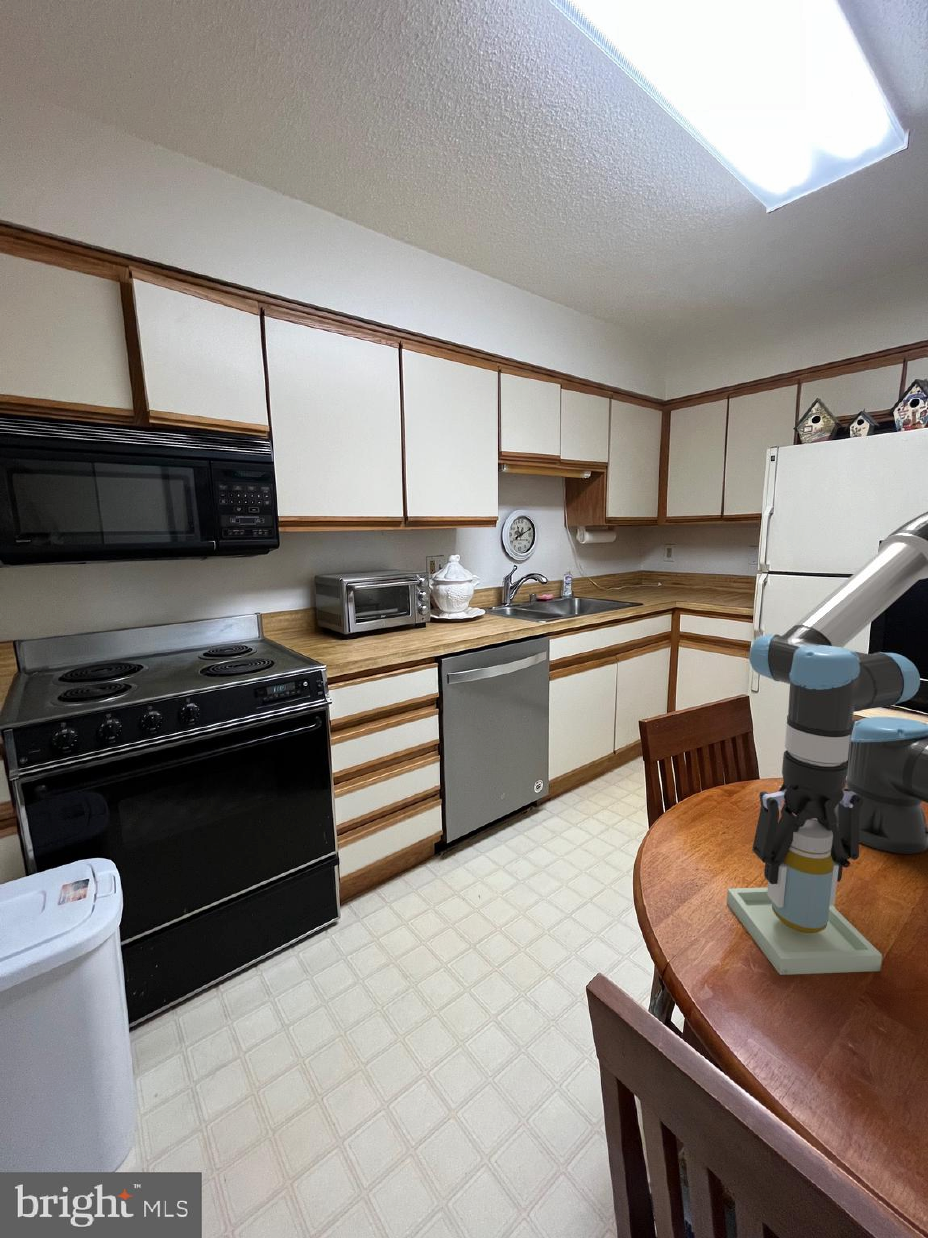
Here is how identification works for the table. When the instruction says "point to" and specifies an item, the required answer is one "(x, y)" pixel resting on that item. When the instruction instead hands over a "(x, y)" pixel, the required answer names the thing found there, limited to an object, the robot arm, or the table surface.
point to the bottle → (807, 879)
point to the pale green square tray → (803, 939)
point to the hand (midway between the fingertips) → (800, 900)
